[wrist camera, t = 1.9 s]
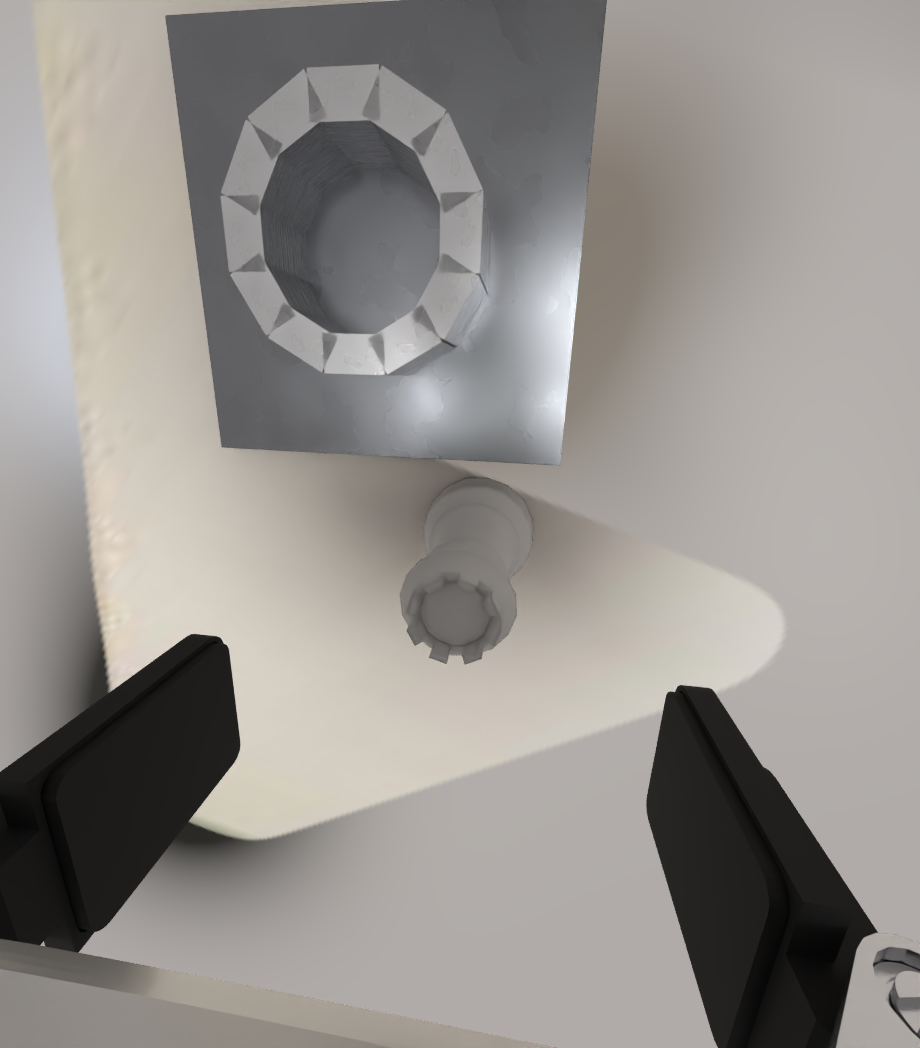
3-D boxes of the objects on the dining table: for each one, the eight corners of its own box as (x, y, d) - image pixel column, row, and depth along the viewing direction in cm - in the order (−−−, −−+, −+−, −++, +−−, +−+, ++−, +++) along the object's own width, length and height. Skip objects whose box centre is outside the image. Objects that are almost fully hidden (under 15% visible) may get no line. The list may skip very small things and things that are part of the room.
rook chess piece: (497, 593, 20) (482, 723, 12) (410, 541, 20) (341, 641, 12) (554, 511, 19) (576, 601, 11) (460, 454, 18) (418, 507, 11)
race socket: (176, 26, 15) (80, -71, 12) (604, 0, 14) (631, -121, 10) (229, 445, 20) (169, 459, 16) (559, 463, 18) (567, 482, 15)
